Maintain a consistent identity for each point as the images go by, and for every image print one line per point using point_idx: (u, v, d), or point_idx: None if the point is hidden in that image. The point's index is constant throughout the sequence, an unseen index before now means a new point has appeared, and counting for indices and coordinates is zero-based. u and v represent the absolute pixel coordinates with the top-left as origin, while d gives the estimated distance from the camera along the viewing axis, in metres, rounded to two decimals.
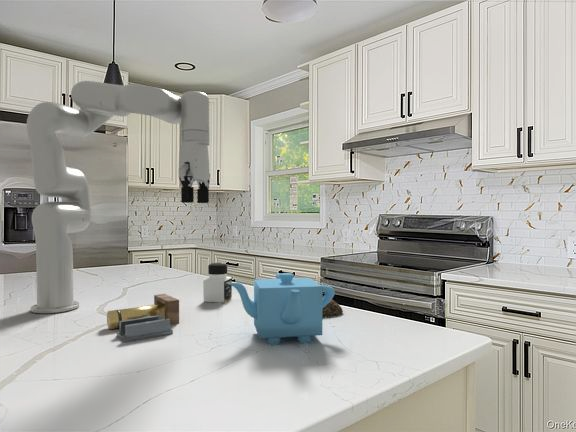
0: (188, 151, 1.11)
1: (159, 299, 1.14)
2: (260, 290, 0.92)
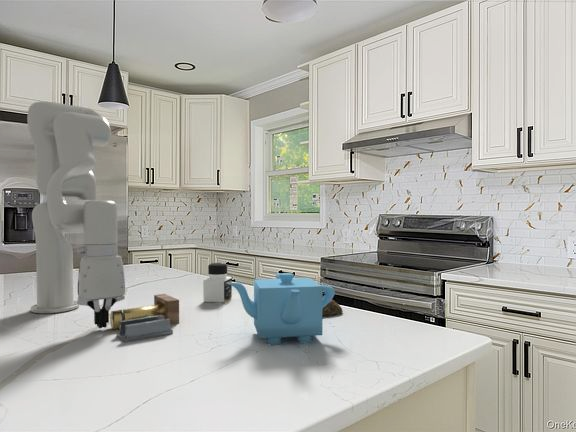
0: None
1: (159, 299, 1.14)
2: (260, 290, 0.92)
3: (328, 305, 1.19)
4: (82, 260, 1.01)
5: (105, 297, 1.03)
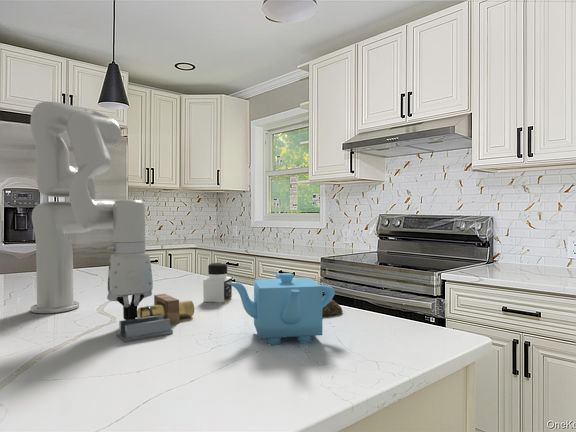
0: None
1: (159, 299, 1.14)
2: (260, 290, 0.92)
3: (328, 305, 1.19)
4: (112, 257, 1.05)
5: (134, 293, 1.06)
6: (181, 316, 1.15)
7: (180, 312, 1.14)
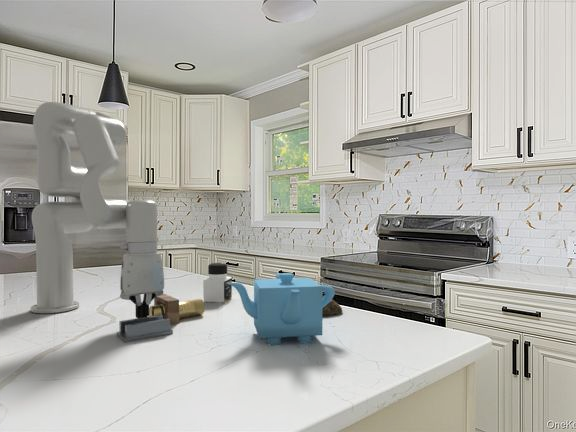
0: None
1: (159, 299, 1.14)
2: (260, 290, 0.92)
3: (328, 305, 1.19)
4: (125, 257, 1.07)
5: (146, 292, 1.08)
6: (191, 314, 1.17)
7: (191, 310, 1.16)
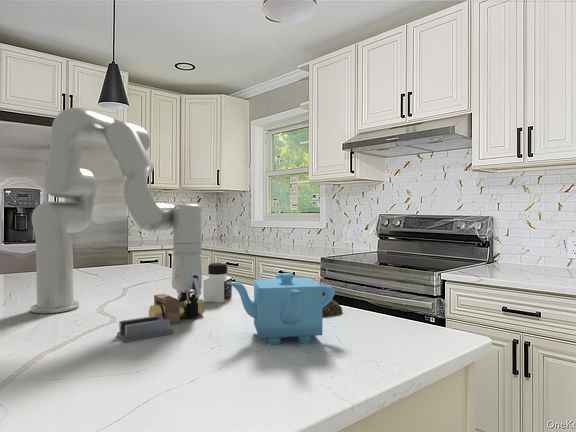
0: (196, 265, 1.14)
1: (159, 299, 1.14)
2: (260, 290, 0.92)
3: (328, 304, 1.20)
4: None
5: (178, 289, 1.16)
6: None
7: None
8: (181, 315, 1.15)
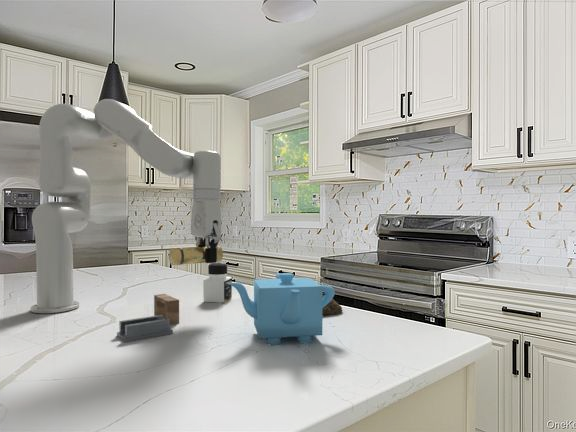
0: (216, 210, 1.16)
1: (159, 299, 1.14)
2: (260, 290, 0.92)
3: (328, 304, 1.20)
4: None
5: (198, 235, 1.18)
6: None
7: None
8: (200, 259, 1.17)
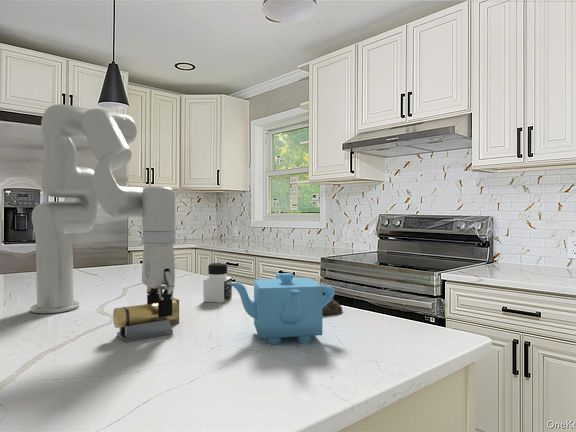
0: (168, 256, 0.99)
1: None
2: (260, 290, 0.92)
3: (328, 304, 1.21)
4: None
5: (148, 285, 1.01)
6: None
7: None
8: (150, 320, 1.00)
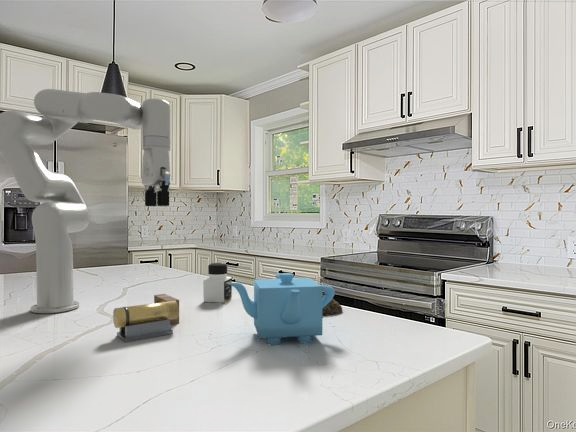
0: (163, 157, 1.17)
1: (159, 299, 1.14)
2: (260, 290, 0.92)
3: (328, 304, 1.21)
4: None
5: (147, 183, 1.19)
6: None
7: (162, 315, 1.01)
8: (150, 320, 1.00)
